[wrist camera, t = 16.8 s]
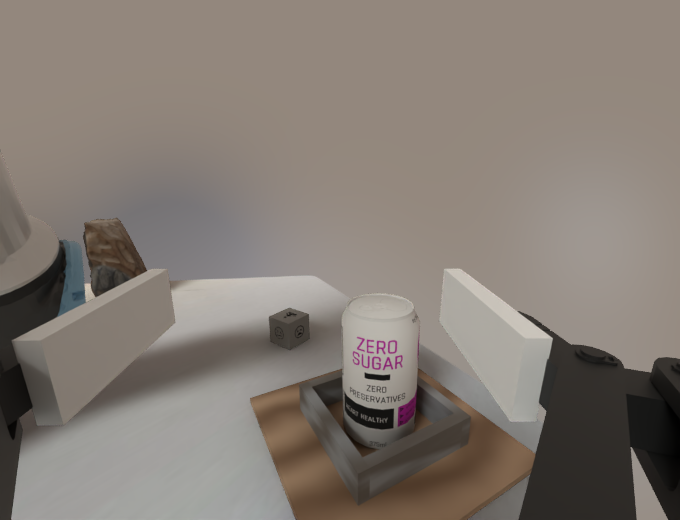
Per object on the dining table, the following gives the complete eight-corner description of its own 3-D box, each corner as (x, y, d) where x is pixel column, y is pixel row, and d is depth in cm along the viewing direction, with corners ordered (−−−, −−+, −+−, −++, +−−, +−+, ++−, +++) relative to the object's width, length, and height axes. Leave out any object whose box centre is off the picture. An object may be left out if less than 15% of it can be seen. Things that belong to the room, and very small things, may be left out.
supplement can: (393, 395, 42) (396, 288, 38) (428, 442, 34) (436, 314, 30) (334, 409, 39) (331, 296, 36) (358, 464, 32) (358, 327, 28)
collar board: (251, 407, 42) (248, 374, 41) (395, 359, 53) (396, 332, 52) (333, 624, 21) (331, 570, 20) (541, 471, 32) (548, 431, 31)
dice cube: (309, 339, 58) (308, 314, 57) (289, 350, 55) (288, 324, 53) (290, 331, 61) (289, 307, 60) (270, 342, 58) (268, 316, 56)
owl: (98, 312, 71) (79, 224, 66) (83, 299, 79) (66, 220, 74) (158, 296, 81) (145, 218, 76) (139, 286, 88) (127, 215, 84)
